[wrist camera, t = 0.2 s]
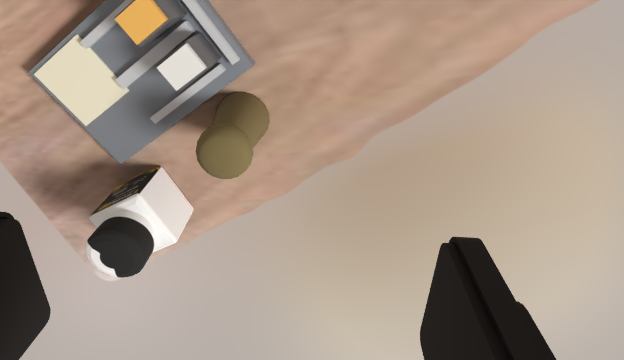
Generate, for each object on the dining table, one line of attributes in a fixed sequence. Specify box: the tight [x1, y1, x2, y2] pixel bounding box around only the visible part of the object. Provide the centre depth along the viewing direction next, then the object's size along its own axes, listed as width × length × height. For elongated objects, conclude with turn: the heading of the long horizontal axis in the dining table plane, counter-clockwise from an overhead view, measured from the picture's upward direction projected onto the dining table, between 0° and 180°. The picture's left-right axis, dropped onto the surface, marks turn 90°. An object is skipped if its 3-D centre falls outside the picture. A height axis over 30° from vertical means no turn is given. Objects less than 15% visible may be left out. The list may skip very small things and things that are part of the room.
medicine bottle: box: [86, 166, 193, 277], centre depth 46 cm, size 7×7×12 cm
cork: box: [196, 92, 269, 179], centre depth 41 cm, size 6×6×11 cm
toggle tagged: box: [115, 0, 187, 47], centre depth 37 cm, size 3×4×5 cm
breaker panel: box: [28, 0, 255, 164], centre depth 42 cm, size 13×20×2 cm, turn 125°
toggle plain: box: [156, 32, 221, 92], centre depth 39 cm, size 3×4×5 cm
